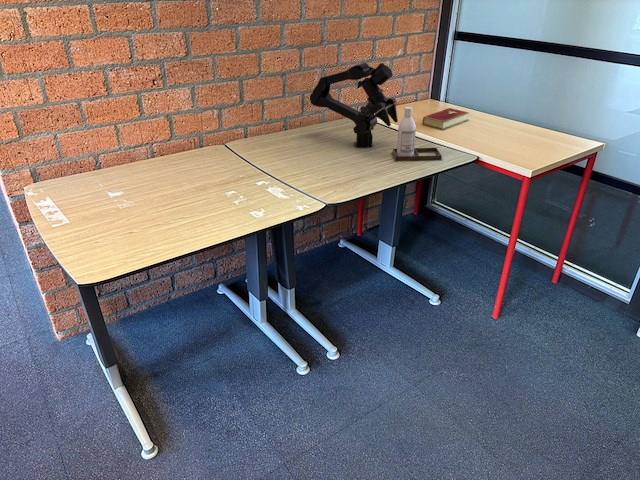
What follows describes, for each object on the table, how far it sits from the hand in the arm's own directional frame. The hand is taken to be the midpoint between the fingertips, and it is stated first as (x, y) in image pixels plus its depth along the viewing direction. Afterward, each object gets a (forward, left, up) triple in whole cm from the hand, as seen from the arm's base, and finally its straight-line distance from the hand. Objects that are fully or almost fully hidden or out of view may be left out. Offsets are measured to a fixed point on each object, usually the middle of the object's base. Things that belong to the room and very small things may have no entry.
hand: (393, 124), depth 201 cm
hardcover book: (+32, +37, -12) cm, 50 cm away
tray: (+9, -7, -12) cm, 16 cm away
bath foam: (+5, -7, -12) cm, 14 cm away
